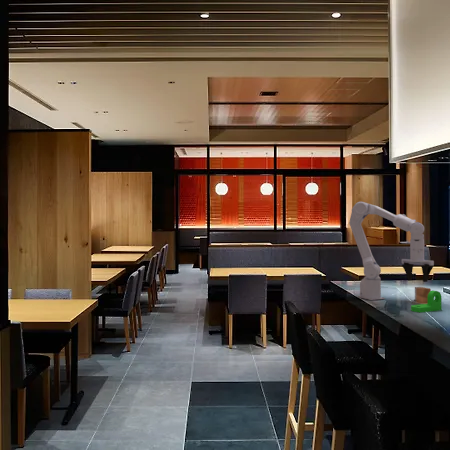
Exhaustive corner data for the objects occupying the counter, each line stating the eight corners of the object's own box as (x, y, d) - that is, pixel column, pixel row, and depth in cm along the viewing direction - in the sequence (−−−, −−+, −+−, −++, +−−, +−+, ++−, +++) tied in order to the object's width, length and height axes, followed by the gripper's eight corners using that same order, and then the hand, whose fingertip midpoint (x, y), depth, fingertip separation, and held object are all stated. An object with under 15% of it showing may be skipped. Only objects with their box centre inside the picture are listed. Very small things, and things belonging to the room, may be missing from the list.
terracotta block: (424, 301, 217) (424, 287, 217) (430, 303, 213) (430, 288, 213) (416, 302, 216) (416, 288, 216) (422, 303, 212) (422, 289, 212)
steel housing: (413, 301, 226) (413, 286, 226) (420, 300, 227) (420, 286, 227) (424, 303, 219) (424, 288, 219) (431, 303, 220) (431, 288, 220)
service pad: (411, 304, 217) (411, 301, 217) (422, 303, 219) (422, 301, 219) (423, 306, 210) (423, 304, 210) (434, 306, 212) (434, 303, 212)
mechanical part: (429, 308, 208) (429, 288, 208) (441, 310, 203) (441, 290, 203) (407, 310, 203) (407, 290, 203) (419, 313, 197) (419, 292, 197)
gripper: (397, 249, 226) (397, 280, 226) (427, 250, 214) (427, 283, 214) (406, 249, 230) (407, 279, 230) (436, 250, 218) (436, 281, 218)
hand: (417, 281), depth 222 cm, fingers open, 7 cm apart
